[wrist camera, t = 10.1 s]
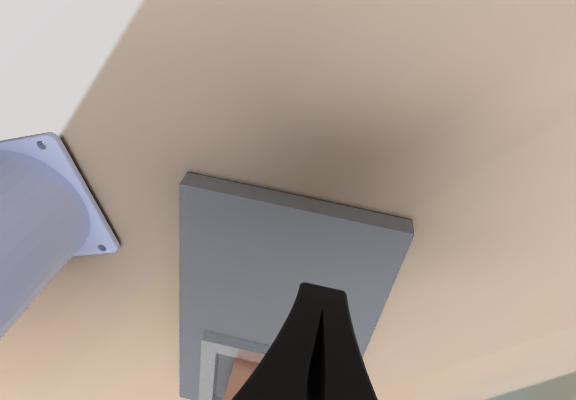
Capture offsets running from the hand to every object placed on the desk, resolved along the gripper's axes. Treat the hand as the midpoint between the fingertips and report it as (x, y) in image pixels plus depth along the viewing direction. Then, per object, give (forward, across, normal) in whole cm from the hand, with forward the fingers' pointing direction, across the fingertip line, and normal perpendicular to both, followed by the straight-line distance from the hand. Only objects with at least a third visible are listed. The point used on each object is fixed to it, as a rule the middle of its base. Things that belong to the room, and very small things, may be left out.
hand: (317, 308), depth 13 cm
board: (+9, +2, +12) cm, 16 cm away
